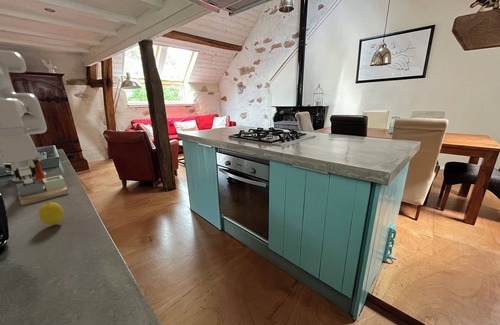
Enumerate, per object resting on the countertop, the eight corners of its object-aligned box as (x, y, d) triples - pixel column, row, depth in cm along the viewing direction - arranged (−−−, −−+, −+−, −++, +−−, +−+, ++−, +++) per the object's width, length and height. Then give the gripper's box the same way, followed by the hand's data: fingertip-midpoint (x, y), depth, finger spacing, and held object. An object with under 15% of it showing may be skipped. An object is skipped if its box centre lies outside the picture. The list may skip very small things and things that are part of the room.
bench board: (19, 195, 90) (17, 191, 89) (62, 185, 100) (61, 181, 99) (21, 205, 81) (19, 201, 80) (68, 193, 91) (67, 189, 90)
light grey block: (25, 190, 89) (17, 167, 86) (36, 188, 91) (28, 165, 88) (27, 195, 84) (18, 171, 81) (38, 192, 86) (30, 169, 84)
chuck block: (19, 193, 87) (16, 184, 86) (42, 187, 92) (40, 179, 91) (20, 198, 83) (17, 188, 82) (44, 192, 88) (42, 183, 87)
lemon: (69, 218, 71) (62, 197, 69) (62, 227, 66) (54, 204, 64) (48, 222, 69) (41, 200, 67) (39, 231, 64) (31, 208, 62)
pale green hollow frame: (45, 187, 93) (42, 179, 91) (63, 183, 97) (61, 175, 96) (47, 191, 89) (44, 182, 87) (66, 186, 93) (63, 178, 92)
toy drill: (35, 188, 93) (24, 155, 90) (35, 183, 106) (25, 153, 103) (50, 185, 96) (39, 152, 93) (48, 180, 110) (39, 151, 107)
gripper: (40, 129, 89) (52, 170, 94) (-22, 134, 77) (-4, 181, 82) (42, 130, 84) (55, 174, 89) (-24, 136, 72) (-4, 186, 78)
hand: (27, 177), depth 86 cm, fingers closed on light grey block, 3 cm apart
